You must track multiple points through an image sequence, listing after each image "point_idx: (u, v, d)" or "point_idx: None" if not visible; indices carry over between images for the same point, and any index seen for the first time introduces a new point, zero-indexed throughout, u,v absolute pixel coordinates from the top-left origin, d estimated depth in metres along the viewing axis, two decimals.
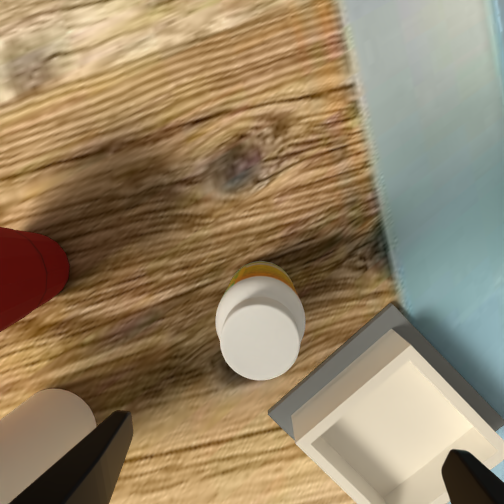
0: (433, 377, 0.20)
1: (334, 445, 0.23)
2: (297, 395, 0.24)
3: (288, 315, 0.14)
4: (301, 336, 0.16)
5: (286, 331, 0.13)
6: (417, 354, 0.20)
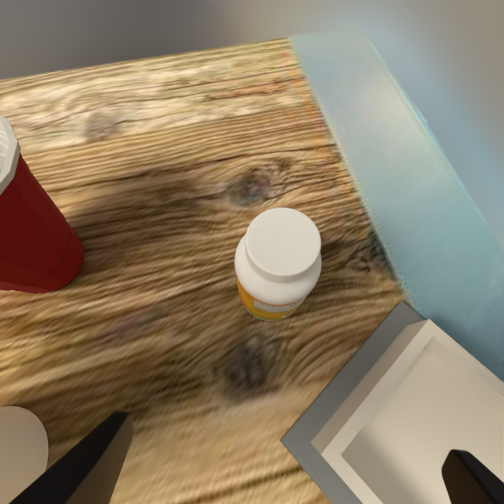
0: (464, 356, 0.18)
1: (371, 487, 0.17)
2: (315, 411, 0.19)
3: (308, 217, 0.15)
4: (319, 268, 0.16)
5: (307, 229, 0.15)
6: (439, 329, 0.19)
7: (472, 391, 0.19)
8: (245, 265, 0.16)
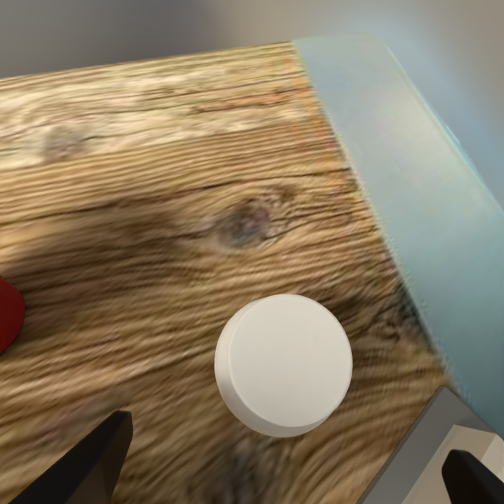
0: None
1: None
2: None
3: (329, 312, 0.09)
4: None
5: (329, 335, 0.09)
6: None
7: None
8: (228, 375, 0.10)
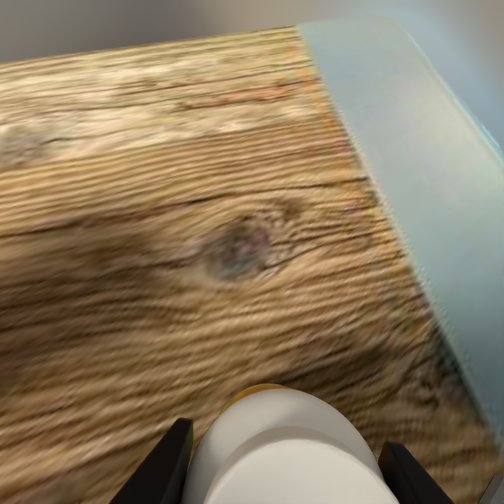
0: None
1: None
2: None
3: (378, 476, 0.05)
4: None
5: None
6: None
7: None
8: None
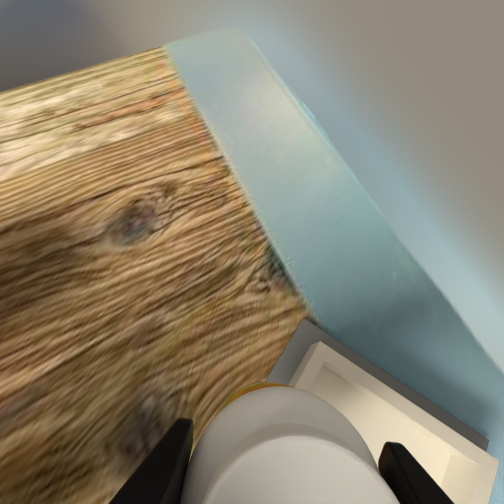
0: (358, 375, 0.17)
1: None
2: None
3: (376, 472, 0.05)
4: None
5: None
6: (331, 351, 0.17)
7: (380, 404, 0.18)
8: None
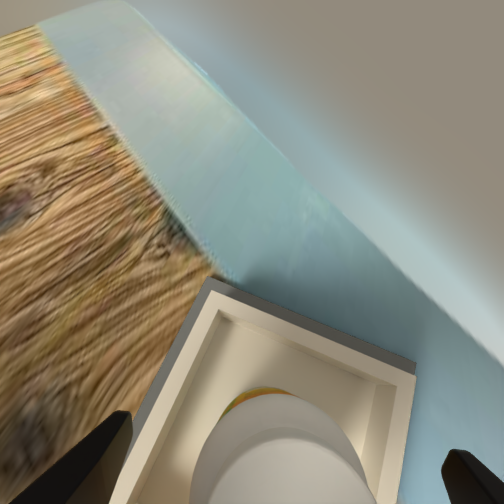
0: (257, 318, 0.15)
1: None
2: None
3: (354, 469, 0.06)
4: None
5: None
6: (224, 298, 0.15)
7: (295, 348, 0.16)
8: None
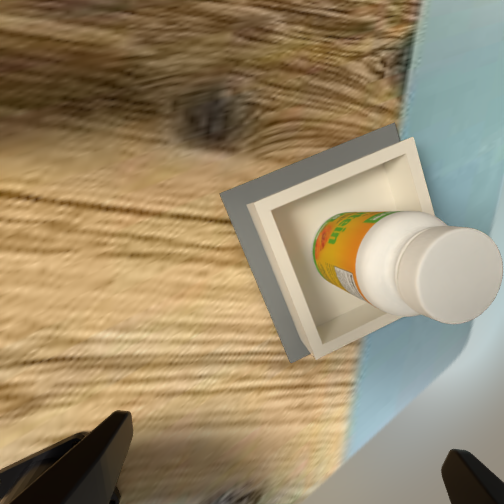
0: (419, 182, 0.18)
1: None
2: (262, 183, 0.20)
3: (500, 276, 0.12)
4: None
5: (489, 288, 0.11)
6: (415, 150, 0.18)
7: None
8: (386, 246, 0.13)
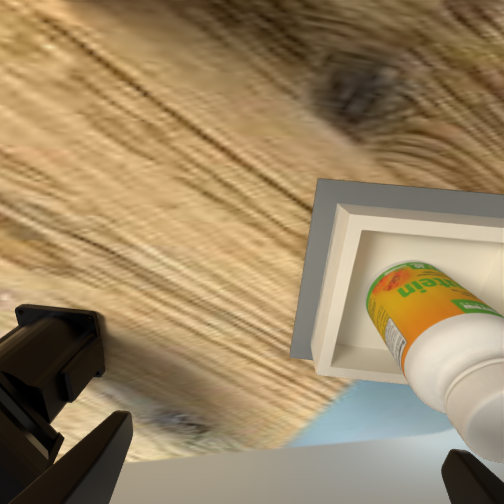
0: None
1: None
2: (366, 190, 0.17)
3: None
4: None
5: None
6: None
7: None
8: (463, 347, 0.11)
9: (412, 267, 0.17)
